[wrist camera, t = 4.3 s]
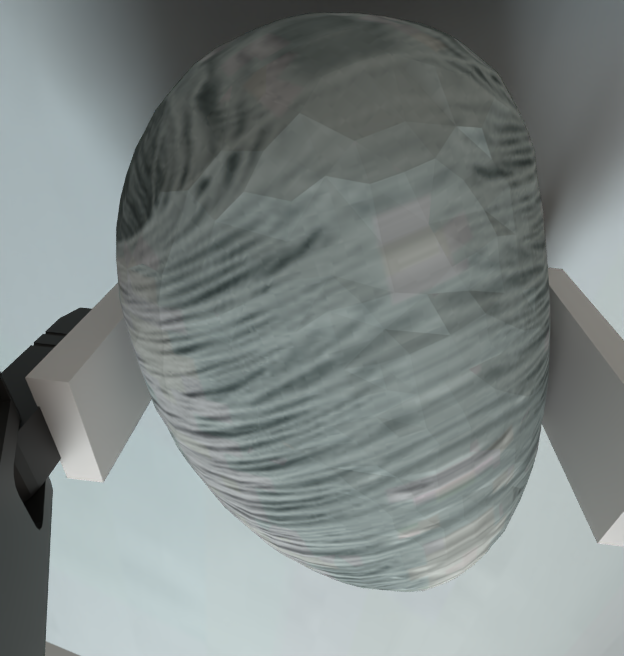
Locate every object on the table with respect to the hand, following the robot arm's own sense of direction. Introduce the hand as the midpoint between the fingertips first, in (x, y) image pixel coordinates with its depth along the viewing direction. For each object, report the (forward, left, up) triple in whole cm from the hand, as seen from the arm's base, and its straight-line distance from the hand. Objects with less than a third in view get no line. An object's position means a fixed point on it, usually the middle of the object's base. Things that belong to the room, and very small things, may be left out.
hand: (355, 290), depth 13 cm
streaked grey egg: (0, 0, -1) cm, 1 cm away
